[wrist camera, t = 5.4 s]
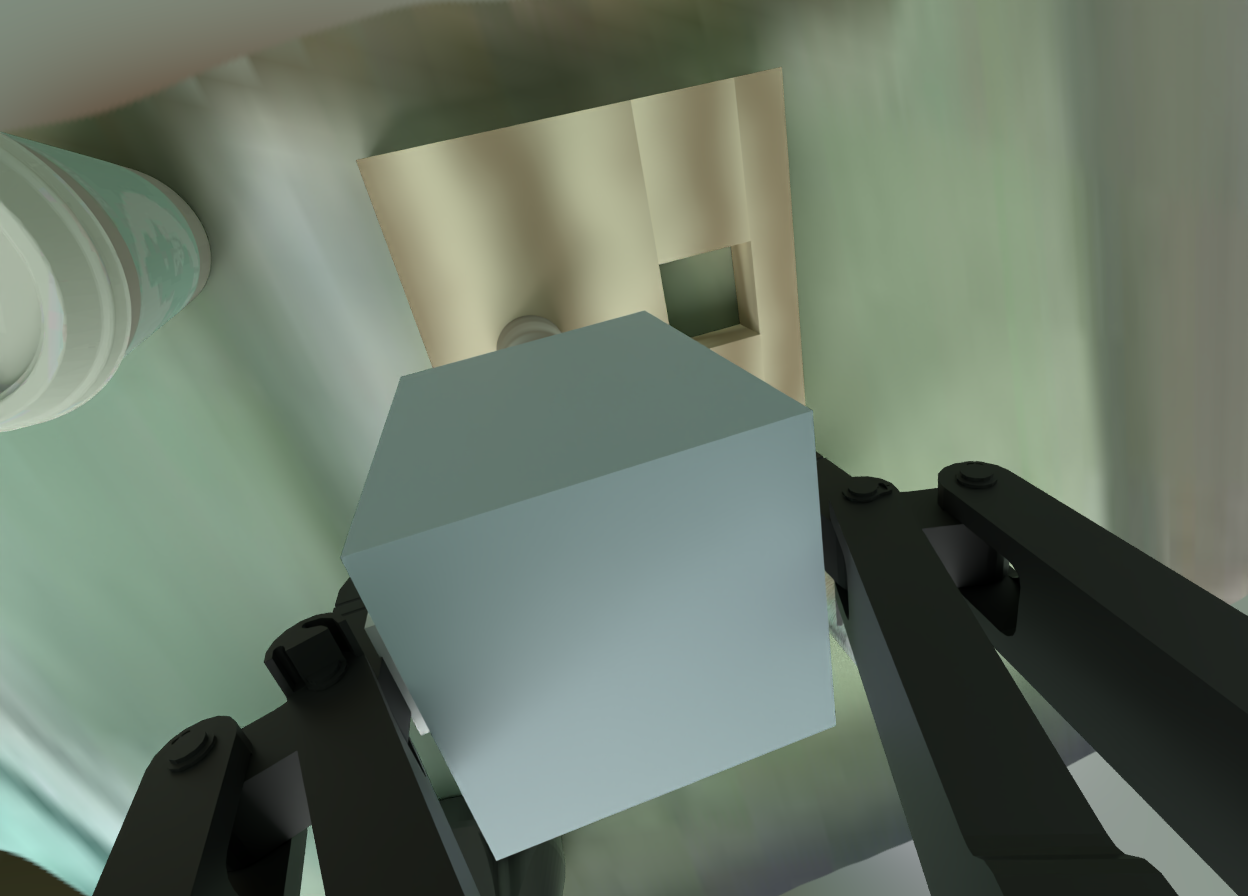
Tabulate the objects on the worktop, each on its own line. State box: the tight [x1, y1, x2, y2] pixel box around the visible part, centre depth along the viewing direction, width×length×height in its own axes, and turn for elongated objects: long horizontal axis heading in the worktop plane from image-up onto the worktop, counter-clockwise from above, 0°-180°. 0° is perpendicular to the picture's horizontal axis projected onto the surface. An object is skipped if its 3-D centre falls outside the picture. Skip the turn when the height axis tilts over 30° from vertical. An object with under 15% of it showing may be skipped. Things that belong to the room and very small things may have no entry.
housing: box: [340, 310, 836, 861], centre depth 14 cm, size 7×7×9 cm
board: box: [356, 67, 805, 406], centre depth 26 cm, size 18×18×10 cm
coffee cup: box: [0, 132, 211, 432], centre depth 19 cm, size 8×8×12 cm
